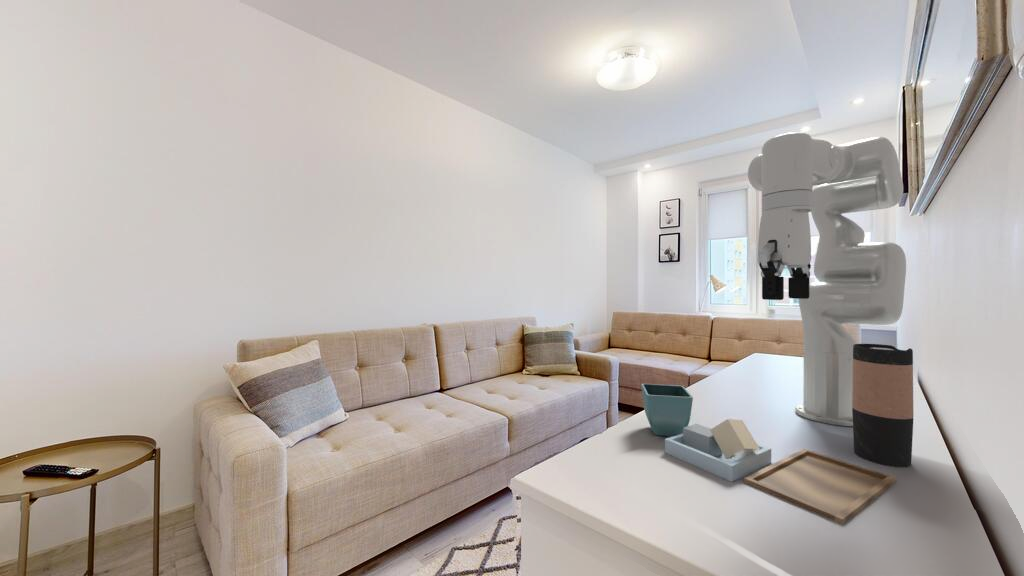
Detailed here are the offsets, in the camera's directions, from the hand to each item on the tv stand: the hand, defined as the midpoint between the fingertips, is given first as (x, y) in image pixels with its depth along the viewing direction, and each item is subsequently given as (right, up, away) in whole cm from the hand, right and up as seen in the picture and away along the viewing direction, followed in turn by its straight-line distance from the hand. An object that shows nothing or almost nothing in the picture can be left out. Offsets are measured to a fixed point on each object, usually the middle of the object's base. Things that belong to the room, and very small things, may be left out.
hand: (786, 299), depth 69 cm
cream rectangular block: (-12, -26, -6) cm, 29 cm away
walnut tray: (-3, -28, -11) cm, 30 cm away
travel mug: (+15, -29, -3) cm, 32 cm away
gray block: (-17, -26, +2) cm, 31 cm away
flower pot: (-18, -29, +10) cm, 35 cm away
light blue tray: (-14, -28, -2) cm, 32 cm away
